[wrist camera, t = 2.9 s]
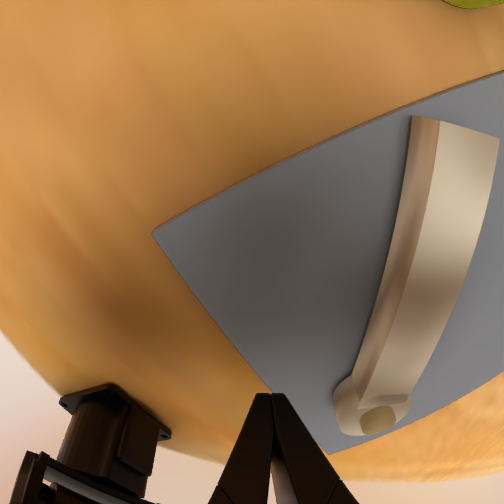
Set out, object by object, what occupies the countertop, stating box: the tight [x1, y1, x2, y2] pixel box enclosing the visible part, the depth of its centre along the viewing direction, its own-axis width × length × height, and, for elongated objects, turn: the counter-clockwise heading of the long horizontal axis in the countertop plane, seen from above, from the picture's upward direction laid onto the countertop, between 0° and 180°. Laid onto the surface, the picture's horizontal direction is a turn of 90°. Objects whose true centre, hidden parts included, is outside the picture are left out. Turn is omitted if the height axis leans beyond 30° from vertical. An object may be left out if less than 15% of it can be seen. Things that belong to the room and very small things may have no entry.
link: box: [333, 115, 500, 436], centre depth 13 cm, size 17×4×3 cm, turn 178°
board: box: [151, 70, 504, 455], centre depth 15 cm, size 24×22×1 cm
